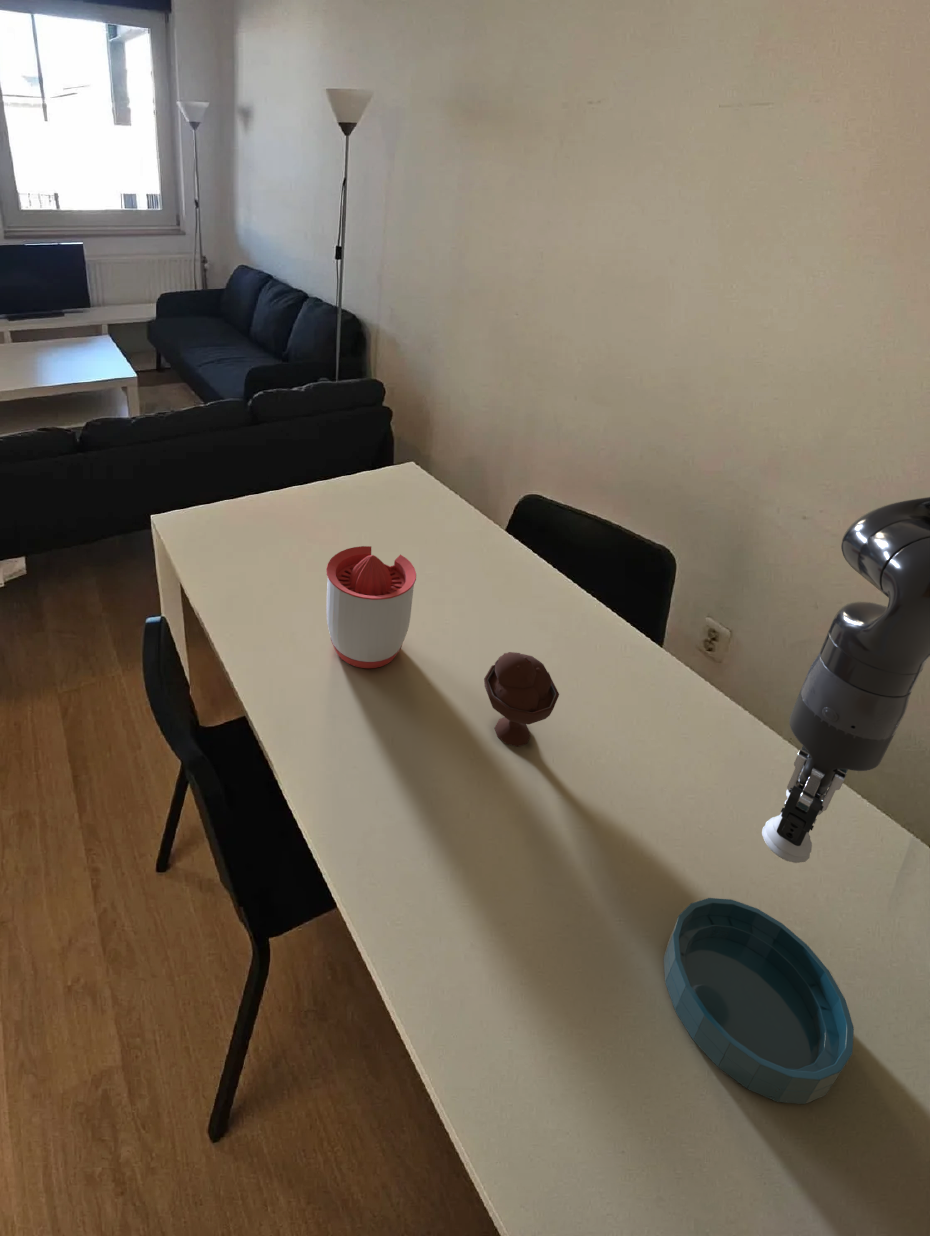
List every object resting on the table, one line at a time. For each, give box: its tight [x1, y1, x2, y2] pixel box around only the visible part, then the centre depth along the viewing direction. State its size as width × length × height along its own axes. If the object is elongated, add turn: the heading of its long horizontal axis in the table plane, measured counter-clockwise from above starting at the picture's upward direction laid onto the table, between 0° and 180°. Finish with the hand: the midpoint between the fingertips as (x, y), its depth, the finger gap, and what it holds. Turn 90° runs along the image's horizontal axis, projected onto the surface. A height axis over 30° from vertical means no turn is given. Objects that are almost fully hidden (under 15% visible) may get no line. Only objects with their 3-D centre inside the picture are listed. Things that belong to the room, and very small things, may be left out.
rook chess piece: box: [761, 788, 824, 864], centre depth 69 cm, size 4×4×8 cm
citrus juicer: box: [325, 545, 417, 669], centre depth 116 cm, size 16×17×20 cm
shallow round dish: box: [663, 897, 855, 1105], centre depth 69 cm, size 16×16×5 cm
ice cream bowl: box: [483, 651, 560, 747], centre depth 100 cm, size 11×11×15 cm
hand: (793, 826), depth 70 cm, fingers closed on rook chess piece, 3 cm apart
